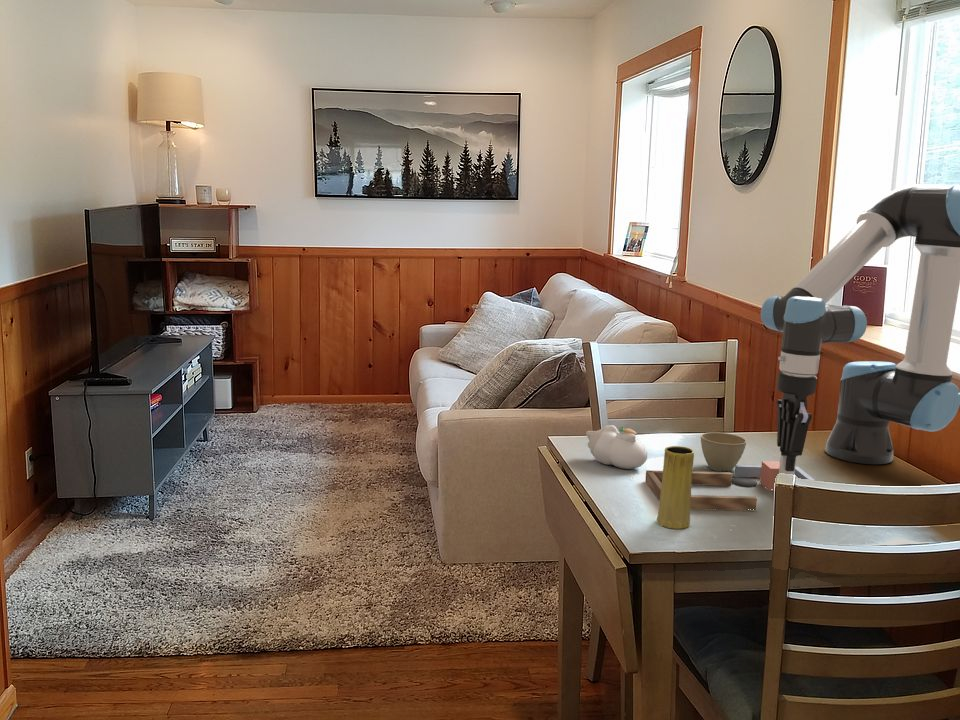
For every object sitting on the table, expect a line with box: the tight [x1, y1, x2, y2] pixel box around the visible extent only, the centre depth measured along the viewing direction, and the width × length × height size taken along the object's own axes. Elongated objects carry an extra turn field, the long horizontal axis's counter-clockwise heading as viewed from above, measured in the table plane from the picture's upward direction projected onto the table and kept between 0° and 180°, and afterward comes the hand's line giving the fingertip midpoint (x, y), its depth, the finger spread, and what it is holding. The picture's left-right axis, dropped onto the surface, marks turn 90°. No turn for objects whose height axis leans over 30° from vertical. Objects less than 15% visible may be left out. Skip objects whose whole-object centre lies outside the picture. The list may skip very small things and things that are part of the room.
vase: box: [656, 445, 695, 530], centre depth 168 cm, size 6×6×14 cm
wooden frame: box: [644, 469, 758, 511], centre depth 186 cm, size 18×16×2 cm
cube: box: [759, 460, 780, 492], centre depth 193 cm, size 5×5×5 cm
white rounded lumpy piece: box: [585, 424, 648, 470], centre depth 204 cm, size 10×8×15 cm
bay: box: [734, 464, 815, 480], centre depth 195 cm, size 14×10×2 cm
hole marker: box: [731, 477, 758, 488], centre depth 195 cm, size 5×5×1 cm
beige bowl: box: [700, 431, 748, 472], centre depth 204 cm, size 10×10×7 cm
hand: (785, 484), depth 189 cm, fingers closed
